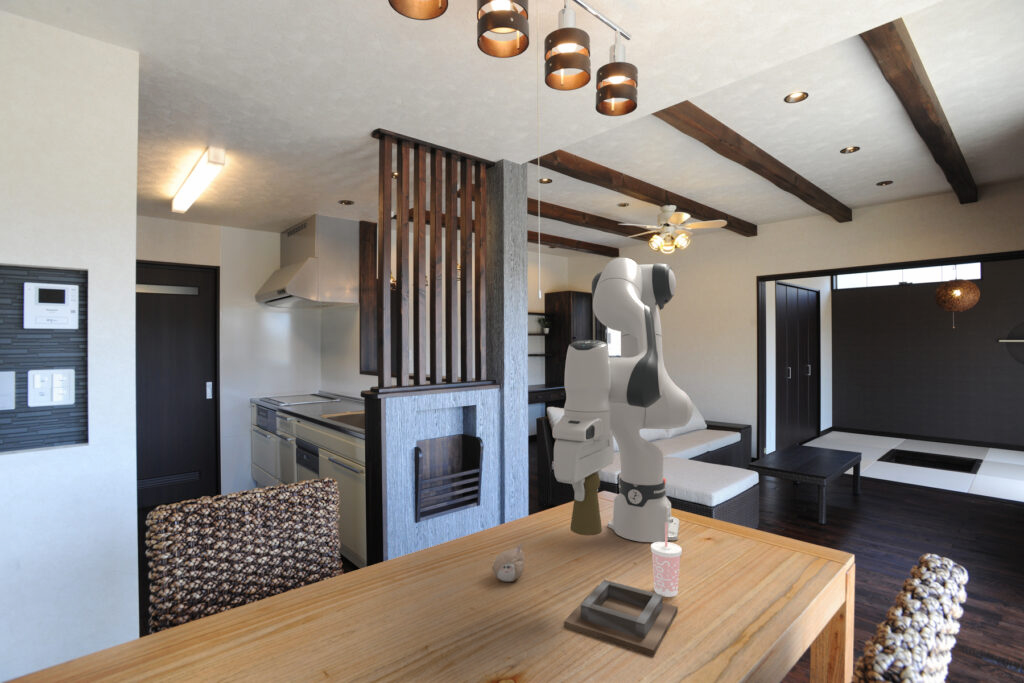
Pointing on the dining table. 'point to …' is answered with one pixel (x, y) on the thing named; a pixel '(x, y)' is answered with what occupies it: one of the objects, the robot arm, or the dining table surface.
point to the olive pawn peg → (587, 509)
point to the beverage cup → (666, 566)
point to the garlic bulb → (509, 564)
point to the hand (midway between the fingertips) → (586, 496)
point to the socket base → (624, 616)
